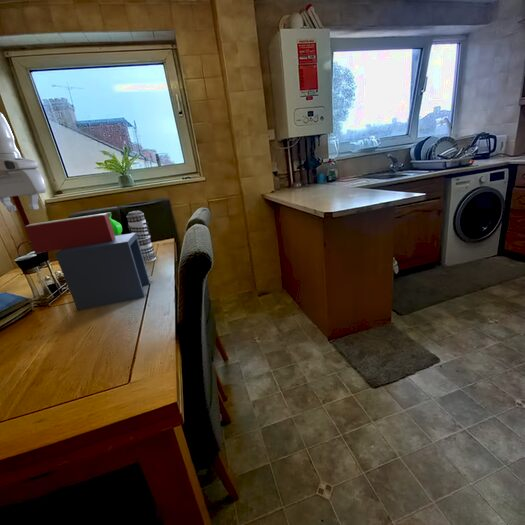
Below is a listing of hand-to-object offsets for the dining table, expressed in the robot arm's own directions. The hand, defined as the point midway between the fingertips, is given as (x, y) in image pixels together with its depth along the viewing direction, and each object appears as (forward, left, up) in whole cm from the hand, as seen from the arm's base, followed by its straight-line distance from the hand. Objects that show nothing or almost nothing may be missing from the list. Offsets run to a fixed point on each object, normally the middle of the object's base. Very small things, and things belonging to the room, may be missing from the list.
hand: (23, 210), depth 90 cm
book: (+12, -1, -14) cm, 18 cm away
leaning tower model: (+24, +39, -35) cm, 57 cm away
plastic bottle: (+8, +51, -35) cm, 62 cm away
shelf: (+19, -1, -35) cm, 40 cm away
